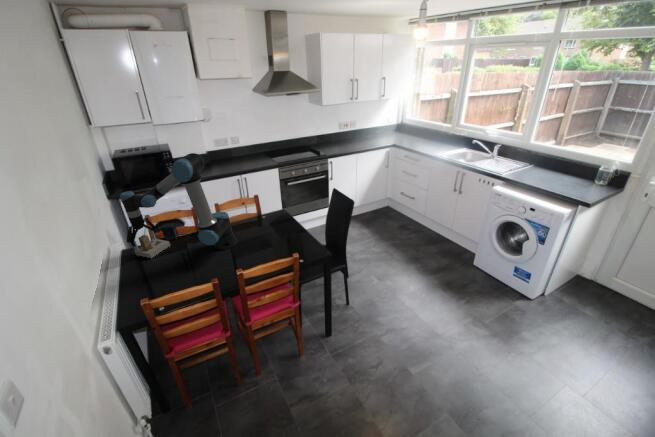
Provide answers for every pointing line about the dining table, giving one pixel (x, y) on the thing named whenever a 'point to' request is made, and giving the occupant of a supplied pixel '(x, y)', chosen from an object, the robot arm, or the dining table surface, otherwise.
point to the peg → (145, 243)
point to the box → (169, 231)
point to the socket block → (153, 248)
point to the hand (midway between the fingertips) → (146, 244)
